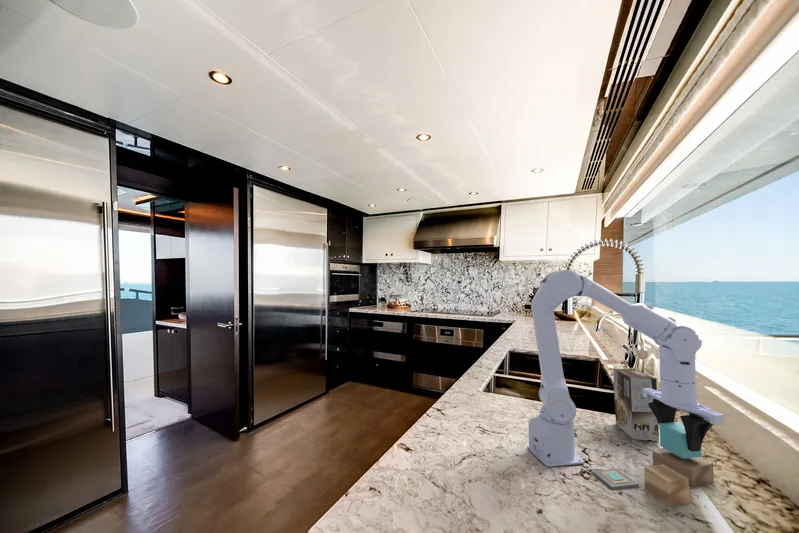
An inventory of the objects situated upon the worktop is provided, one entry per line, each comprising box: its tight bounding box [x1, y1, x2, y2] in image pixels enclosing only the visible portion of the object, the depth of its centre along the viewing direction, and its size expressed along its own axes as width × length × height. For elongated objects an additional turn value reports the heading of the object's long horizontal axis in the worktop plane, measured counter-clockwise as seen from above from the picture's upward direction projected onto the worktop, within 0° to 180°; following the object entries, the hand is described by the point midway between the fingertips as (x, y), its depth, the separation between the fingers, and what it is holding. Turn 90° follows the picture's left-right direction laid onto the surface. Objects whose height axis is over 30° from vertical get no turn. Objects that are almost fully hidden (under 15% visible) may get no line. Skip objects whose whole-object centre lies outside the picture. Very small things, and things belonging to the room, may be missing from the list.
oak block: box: [643, 464, 691, 507], centre depth 57 cm, size 4×4×4 cm
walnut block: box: [651, 447, 715, 490], centre depth 63 cm, size 7×7×4 cm
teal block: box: [659, 421, 703, 459], centre depth 63 cm, size 5×5×5 cm
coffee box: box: [612, 368, 660, 442], centre depth 81 cm, size 9×6×16 cm
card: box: [591, 468, 639, 491], centre depth 61 cm, size 6×5×1 cm
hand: (680, 443), depth 63 cm, fingers closed on teal block, 4 cm apart
